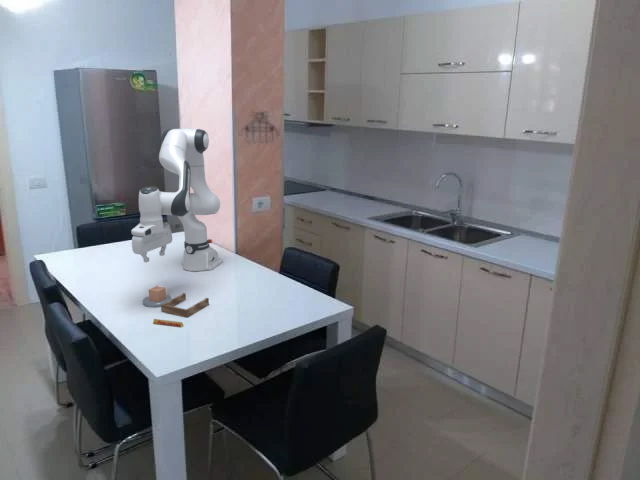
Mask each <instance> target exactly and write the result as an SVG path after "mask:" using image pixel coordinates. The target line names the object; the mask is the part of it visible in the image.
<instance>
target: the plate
mask: <svg viewBox="0 0 640 480" xmlns="http://www.w3.org/2000/svg"><path fill="white" fill-rule="evenodd" d="M172 299H173V297H172V296H171V295H168V294H166V299H165V300H163V301H161V302H159V303H157V302H153V301H149V295H148V296H147V297H145V298H143V299H142V305H143V306H144V307H147V308H161V305H162V304H164V303H166V302H168V301H170V300H172Z"/></svg>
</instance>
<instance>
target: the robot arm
mask: <svg viewBox="0 0 640 480" xmlns="http://www.w3.org/2000/svg"><path fill="white" fill-rule="evenodd" d="M160 138H161V145H160V148H159V149H160V150H159V154H158V161H159V163H160V164H161V167H163V168H164V169H165V170H167V171H168V172H170V173H173V174H175V175H176V176H179V179H178V190H177V191H175V192H174V191H173V192H172V191H171V192H170V191H169V192H168V191H167V192H166V191H160V189H159V188H158V187H157V186H152V185H151V186H144V187H142V188H141V189H139V192H138V211H139V214H140V217H139V223H138V224H137V225H136V226H135V227H133V228H132V229H131V235H132V238H131V248H132V252H133V254H134V255H140V256H141V257H142V259H143V262H144V263H148V262H150V257H148V256H147V255H148V253H149V252H151V251H154V250H156V249H159V248H160V251H159V252H158V255H159V256H160V257H163V256H165V255H166V249H167V245H169V244H171V243H172V242H173V234H172V230H171V227H170V223H168V222H166V221H165V222H164V221H163V220H164V219H163V215H165V216H175V217H177V218H178V219H179V221H180V222H181V224H182V227H183V233H184V243H183V244H184V245H183V247H184V251H183V262H182V263H181V264H182V269H184V270H185V271H188V272H202V271H212V270H214V269H215V268H217V267H218V266H219V265H220V264H222V263H223V262H224V260H223V259H222V258H220V257H219V253H218V251H217V250H216V249H214V248H213V247H212V246H210V244H213V239H210V238H208V231H207V226H206V224H205V223H204V222H202V221H200V220H199V219H198V218H197V216H210V215H215V214H217V213H218V212H219V210H220V209H221V201H220V198H219V197H218V196H217V195H216V194H215V193H214V192H213V191H212V190H211V189H210V188H209V186H208V184H207V181H206V174H205V173H206V172H205V157H204V152H206V150H208V147H209V143H210V140H209V139H210V137H209V134H208V132H207V131H206V130H204V129H200V128H198V129H196V128H189V127H188V128H187V127H184V128H168V129H165V130H163V132H162V134H161V137H160ZM191 189H192V191H193V192H191Z"/></svg>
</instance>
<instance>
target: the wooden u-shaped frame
mask: <svg viewBox="0 0 640 480" xmlns="http://www.w3.org/2000/svg"><path fill="white" fill-rule="evenodd" d="M186 300H187V296H186V293H185V292H183V293H181V294H179V295H178V296H175V297H174V298H173V297H172V300H170V301H168V302H166V303H164V304H162V305H161V307H160V309H161V310H160V311H161V313H166V314H168V315H169V314H170V315H174V316H179V317H183V318H189V317H191V316H193V315H194V314H196V313H197V312H199V311H201V310H203V309H204V308H206V307H208V306H209V305H210V302H209V298H208V297H206V298H204V299H202V300H201V301H198V302H197V303H195V304H193V305H192V306H190V307H188V308H187V309H186V308H181V307H178V305H179V304H181V303H183V302H185V301H186Z"/></svg>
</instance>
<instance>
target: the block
mask: <svg viewBox="0 0 640 480" xmlns="http://www.w3.org/2000/svg"><path fill="white" fill-rule="evenodd" d="M147 291H148V296H149V301H153V302H157V303H159V302H161V301H163V300H165V299H166V295H167V288H166V287H165V286H164V287H163V286H158V285H156V286H153V287H152V288H149V289H148V290H147Z"/></svg>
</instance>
